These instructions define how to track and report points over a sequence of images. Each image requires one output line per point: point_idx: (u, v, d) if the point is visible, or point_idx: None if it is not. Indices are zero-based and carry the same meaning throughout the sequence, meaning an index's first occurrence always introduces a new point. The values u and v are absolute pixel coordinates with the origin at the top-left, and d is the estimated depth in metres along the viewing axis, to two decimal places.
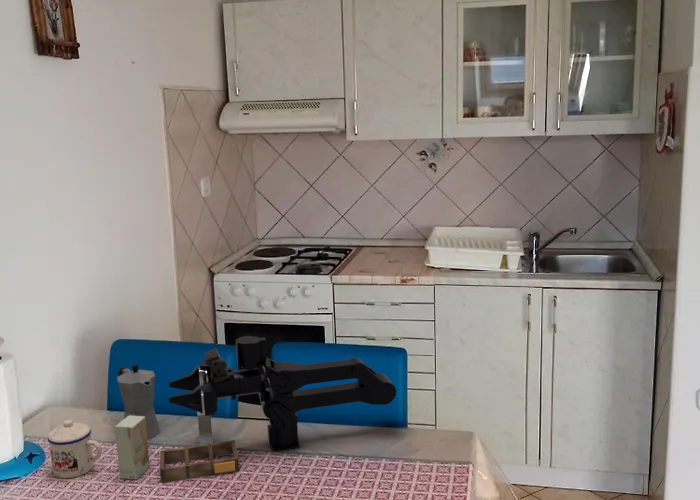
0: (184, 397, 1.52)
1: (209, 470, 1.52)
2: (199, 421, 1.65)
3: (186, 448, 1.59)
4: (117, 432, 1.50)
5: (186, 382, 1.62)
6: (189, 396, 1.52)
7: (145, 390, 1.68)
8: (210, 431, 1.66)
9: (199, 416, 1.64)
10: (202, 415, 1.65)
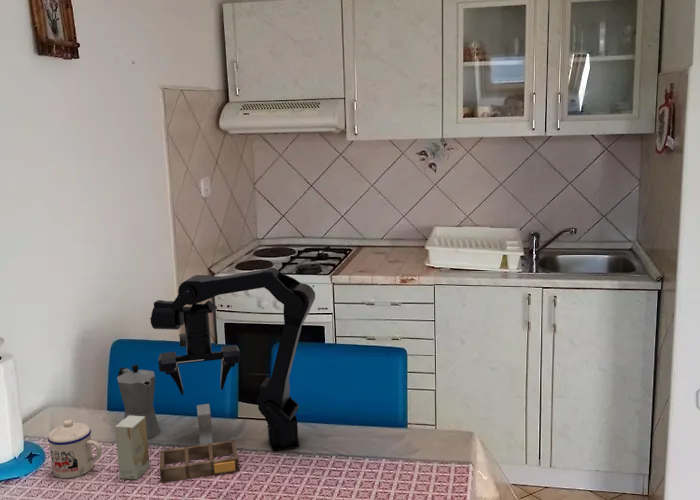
0: None
1: (209, 470, 1.52)
2: (199, 421, 1.65)
3: (186, 448, 1.59)
4: (117, 432, 1.50)
5: (221, 374, 1.67)
6: None
7: (145, 390, 1.68)
8: (210, 431, 1.66)
9: (199, 416, 1.64)
10: (202, 415, 1.65)
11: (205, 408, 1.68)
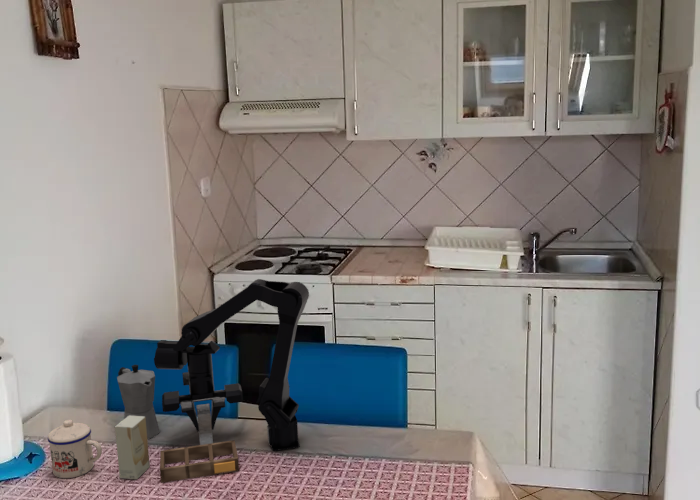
0: None
1: (209, 470, 1.52)
2: (199, 421, 1.65)
3: (186, 448, 1.59)
4: (117, 432, 1.50)
5: (211, 414, 1.68)
6: None
7: (145, 390, 1.68)
8: (210, 431, 1.66)
9: (199, 416, 1.64)
10: (202, 415, 1.65)
11: (205, 408, 1.68)
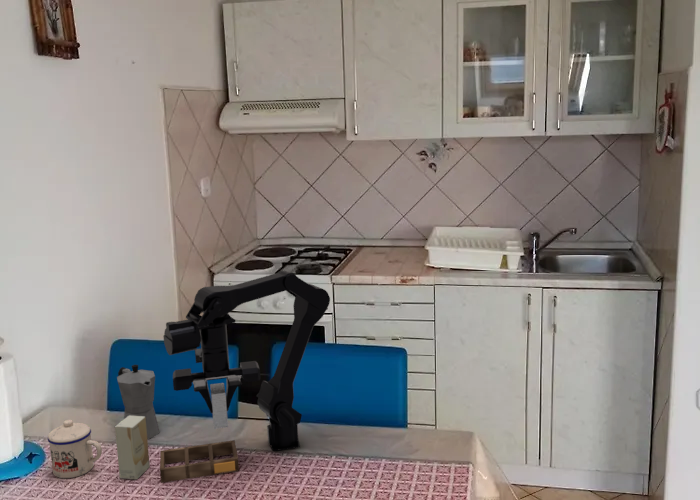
0: None
1: (209, 470, 1.52)
2: (213, 401, 1.51)
3: (186, 448, 1.59)
4: (117, 432, 1.50)
5: (226, 393, 1.55)
6: None
7: (145, 390, 1.68)
8: (225, 412, 1.52)
9: (213, 395, 1.51)
10: (216, 394, 1.51)
11: (220, 387, 1.55)
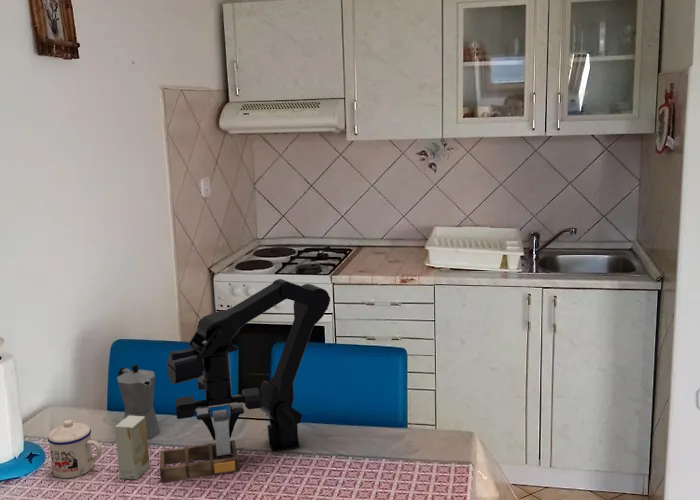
0: None
1: (209, 470, 1.52)
2: (216, 428, 1.52)
3: (186, 448, 1.59)
4: (117, 432, 1.50)
5: (228, 420, 1.56)
6: None
7: (145, 390, 1.68)
8: (228, 439, 1.54)
9: (216, 423, 1.52)
10: (219, 422, 1.52)
11: (222, 414, 1.56)
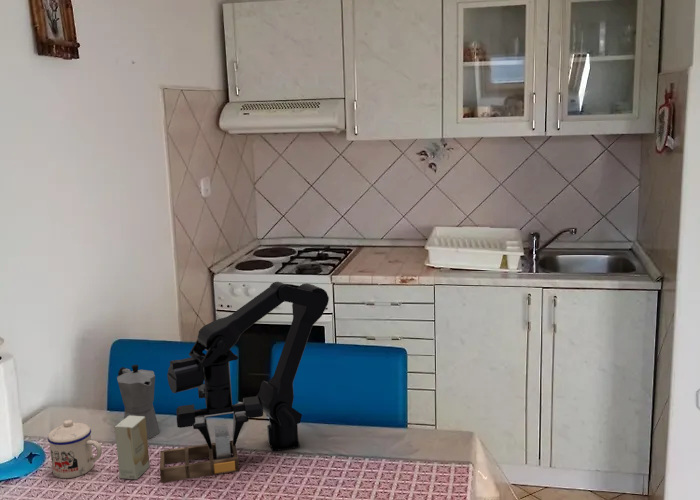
0: None
1: (209, 470, 1.52)
2: (217, 444, 1.53)
3: (186, 448, 1.59)
4: (117, 432, 1.50)
5: (233, 428, 1.57)
6: None
7: (145, 390, 1.68)
8: (229, 454, 1.54)
9: (217, 438, 1.53)
10: (220, 437, 1.53)
11: (223, 429, 1.57)
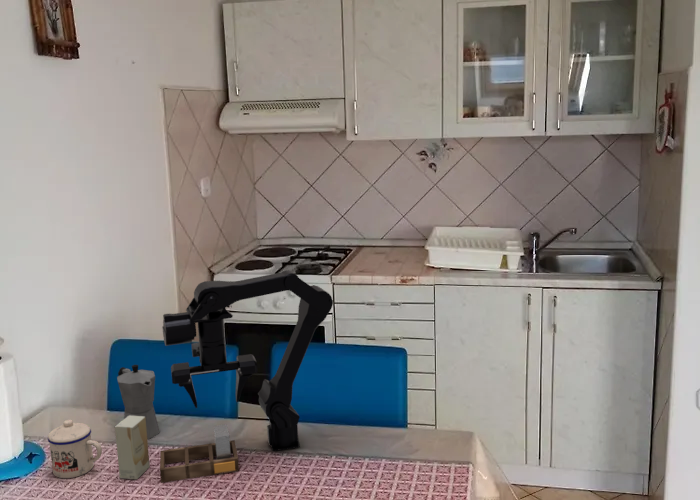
0: None
1: (209, 470, 1.52)
2: (217, 444, 1.53)
3: (186, 448, 1.59)
4: (117, 432, 1.50)
5: (236, 385, 1.58)
6: None
7: (145, 390, 1.68)
8: (229, 454, 1.54)
9: (217, 438, 1.53)
10: (220, 437, 1.53)
11: (223, 429, 1.57)
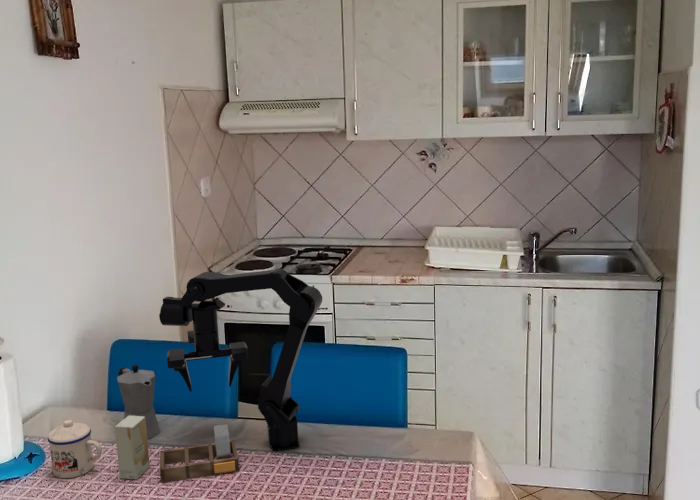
0: None
1: (209, 470, 1.52)
2: (217, 444, 1.53)
3: (186, 448, 1.59)
4: (117, 432, 1.50)
5: (229, 370, 1.67)
6: None
7: (145, 390, 1.68)
8: (229, 454, 1.54)
9: (217, 438, 1.53)
10: (220, 437, 1.53)
11: (223, 429, 1.57)
